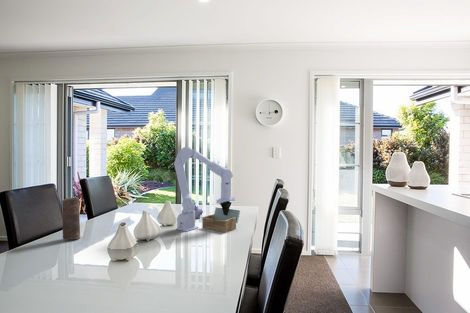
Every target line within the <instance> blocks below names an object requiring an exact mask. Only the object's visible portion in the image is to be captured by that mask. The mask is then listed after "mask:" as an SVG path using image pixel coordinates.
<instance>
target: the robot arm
mask: <svg viewBox="0 0 470 313" xmlns="http://www.w3.org/2000/svg"><path fill="white" fill-rule="evenodd" d="M190 159H194V160H195V159H197V160H198V161H199V162H201V163H203V164H204V165H206V166H208V169H209V171H211V172H212V173H213V174H215V175H217V176H220V178H221V180H220V198H219V199H216V204H217V205H220V208H222V209H223V214H224V215H228V211H229V209H230V208H231V205H232V202H234V201H235V200H236V199H235V197H233V196H232V177H233V172H232V171H231V169H227V167H226V166H224V165H222V164H220V162H219V161H216V160H213V161H212V160H210V159H209V158H208V157H207V156H205V155H203V154H202V153H201V152H199V151H197V150H196V149H195V150H194V149H192V148H191V147H188V146H185V147H184V146H183V147H182V148H181V149H180V150H179V151H178V152H177V155H176V158H175V160H174V163H173V164H174V170H175V174H176V178H177V181H178V182H177V183H178V185H179V190H180V194H181V199H182V202H181V206H182V210H181V213H179V214H178V215H177V218H176V219H177V220H176V221H177V226H176V230H178V231H183V232H189V231H192V230H196V229H198V228H199V226H197V225H196V218H195V210H194V209H195V205H196V204H195V203H194V201H193V200H192V196H191V192H190V189H189V184H188V180H187V175H186V171H185V168H184V167H185V164H186V162H187V161H188V160H190Z"/></svg>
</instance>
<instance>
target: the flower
mask: <svg viewBox="0 0 470 313" xmlns="http://www.w3.org/2000/svg"><path fill="white" fill-rule="evenodd" d="M194 210H195V219H200V218H201V216H202V215H203V213H204V210H203V209H202V208H199V206H198V205H196V204H195V209H194Z"/></svg>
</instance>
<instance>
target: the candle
mask: <svg viewBox="0 0 470 313" xmlns="http://www.w3.org/2000/svg"><path fill="white" fill-rule="evenodd" d="M61 208H62V210H61V211H62V212H61V213H62V218H61V220H62V239H63V240H68V241H69V240H74V239H75V240H76V239H77V240H79V239H81V222H80V197H66V198H65V199H62V200H61Z"/></svg>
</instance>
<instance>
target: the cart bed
mask: <svg viewBox="0 0 470 313" xmlns="http://www.w3.org/2000/svg"><path fill="white" fill-rule="evenodd" d="M201 219H202V220H201V221H202V224H201V228H202V229H206V230H211V231H217V232H223V233H228V232H229V233H230V231H233V230H237V223H236V218H235V217H234V218H231V219H227V220H224V221H222V220H216V219H214V213H213V214H208V215H205V216H202V217H201Z"/></svg>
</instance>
